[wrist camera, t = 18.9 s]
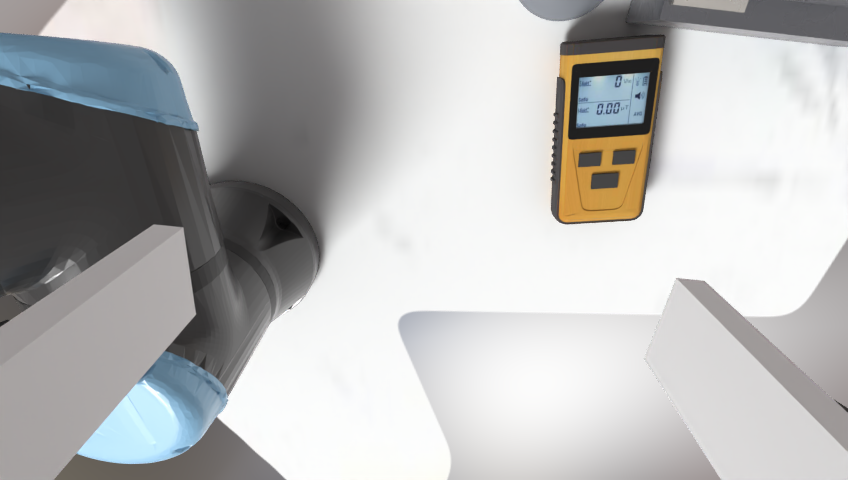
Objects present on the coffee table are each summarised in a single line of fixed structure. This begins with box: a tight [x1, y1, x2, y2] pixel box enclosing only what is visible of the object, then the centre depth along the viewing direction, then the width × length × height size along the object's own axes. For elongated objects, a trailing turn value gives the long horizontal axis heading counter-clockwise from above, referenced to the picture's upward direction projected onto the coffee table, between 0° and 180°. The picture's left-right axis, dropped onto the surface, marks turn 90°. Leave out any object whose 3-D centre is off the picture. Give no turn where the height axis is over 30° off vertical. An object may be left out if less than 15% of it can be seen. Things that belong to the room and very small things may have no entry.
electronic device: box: [551, 35, 665, 224], centre depth 38 cm, size 8×16×3 cm, turn 4°
